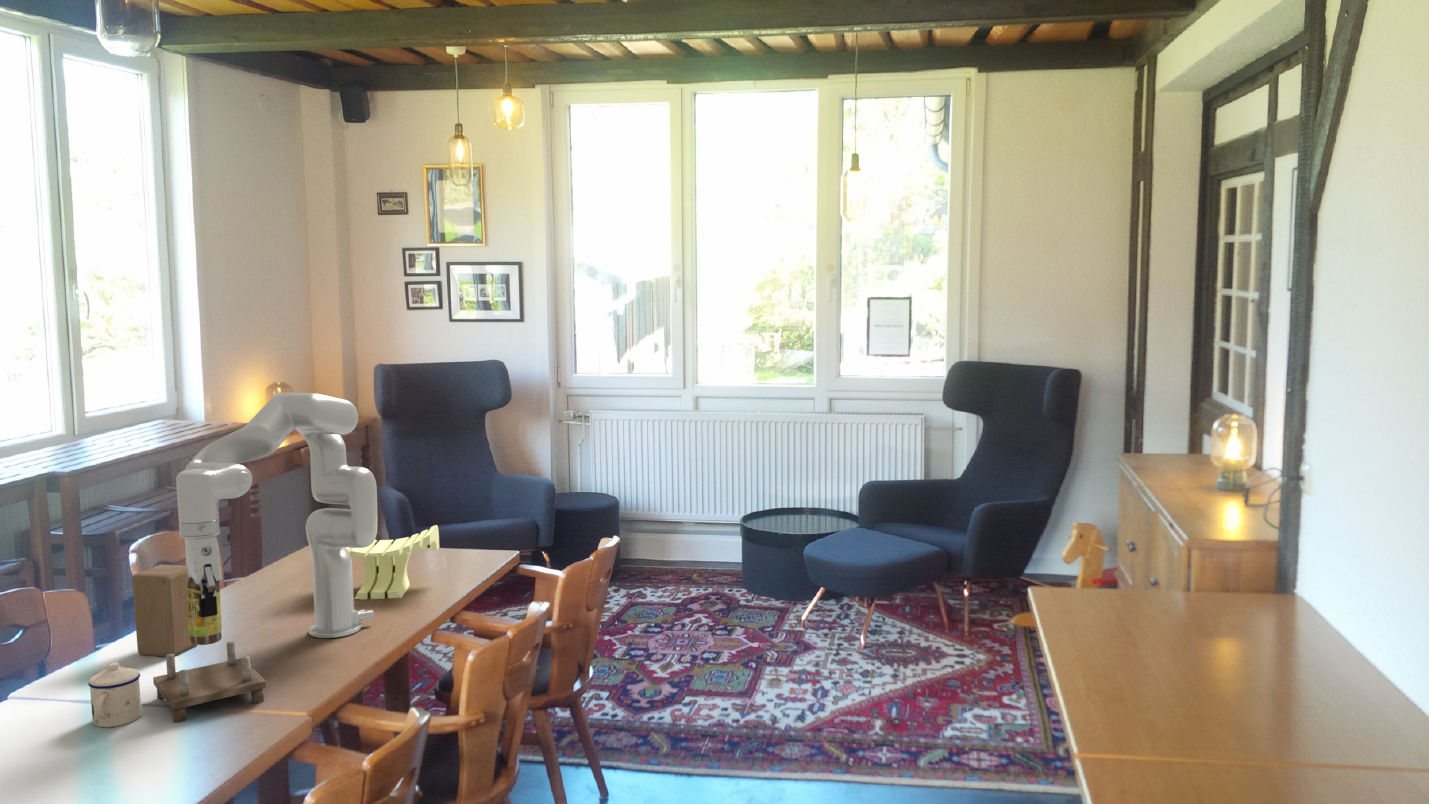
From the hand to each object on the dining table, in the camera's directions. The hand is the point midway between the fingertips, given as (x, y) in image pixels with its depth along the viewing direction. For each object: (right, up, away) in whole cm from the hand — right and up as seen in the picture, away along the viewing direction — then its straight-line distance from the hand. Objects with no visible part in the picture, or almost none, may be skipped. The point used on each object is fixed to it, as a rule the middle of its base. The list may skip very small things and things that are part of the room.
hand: (204, 611), depth 218 cm
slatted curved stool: (+12, -11, +82) cm, 83 cm away
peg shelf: (0, -19, +2) cm, 19 cm away
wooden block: (-25, -16, +33) cm, 44 cm away
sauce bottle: (0, -7, +1) cm, 7 cm away
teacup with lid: (-14, -21, -9) cm, 27 cm away
